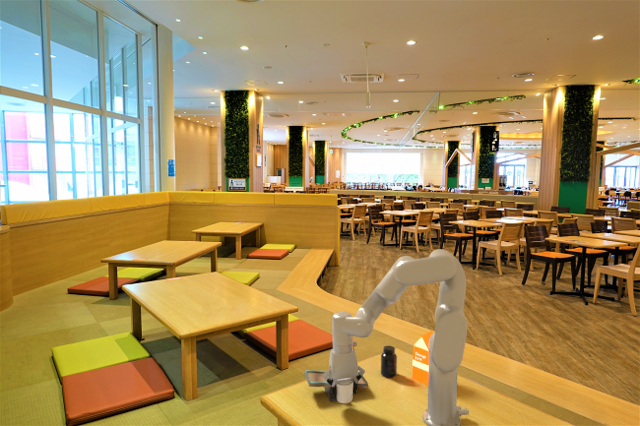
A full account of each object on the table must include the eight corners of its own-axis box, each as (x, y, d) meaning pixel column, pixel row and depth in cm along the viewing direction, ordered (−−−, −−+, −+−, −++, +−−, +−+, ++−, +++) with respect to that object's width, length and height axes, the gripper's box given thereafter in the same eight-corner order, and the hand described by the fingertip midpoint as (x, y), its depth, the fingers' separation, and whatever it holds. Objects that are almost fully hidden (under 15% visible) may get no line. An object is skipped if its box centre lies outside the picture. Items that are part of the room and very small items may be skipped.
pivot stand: (340, 380, 162) (340, 365, 161) (350, 399, 147) (351, 383, 147) (321, 382, 160) (321, 367, 160) (330, 401, 146) (330, 385, 145)
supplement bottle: (378, 371, 170) (378, 345, 169) (391, 369, 172) (392, 343, 171) (385, 379, 163) (385, 351, 162) (399, 377, 165) (400, 349, 164)
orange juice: (412, 378, 163) (413, 333, 162) (423, 372, 169) (424, 328, 168) (428, 386, 158) (429, 338, 156) (439, 378, 164) (440, 333, 162)
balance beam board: (359, 375, 161) (360, 372, 161) (368, 388, 151) (368, 384, 151) (304, 374, 156) (304, 370, 156) (308, 386, 146) (309, 382, 146)
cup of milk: (352, 404, 137) (352, 385, 137) (333, 403, 139) (333, 384, 138) (354, 394, 144) (354, 376, 144) (336, 393, 145) (336, 375, 145)
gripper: (362, 340, 146) (363, 385, 147) (317, 345, 142) (319, 392, 143) (369, 347, 138) (370, 395, 140) (322, 353, 135) (323, 403, 136)
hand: (344, 393), depth 141 cm, fingers closed on cup of milk, 6 cm apart
